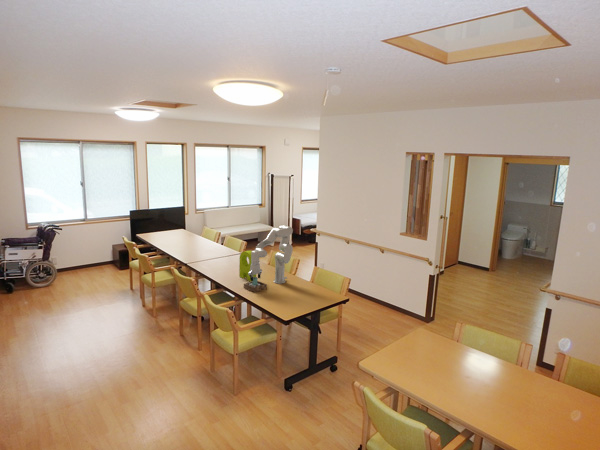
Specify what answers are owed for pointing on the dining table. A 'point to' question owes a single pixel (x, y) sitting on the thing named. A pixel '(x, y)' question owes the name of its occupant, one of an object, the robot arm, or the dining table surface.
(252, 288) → the walled box
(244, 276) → the decorative object
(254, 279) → the connector
